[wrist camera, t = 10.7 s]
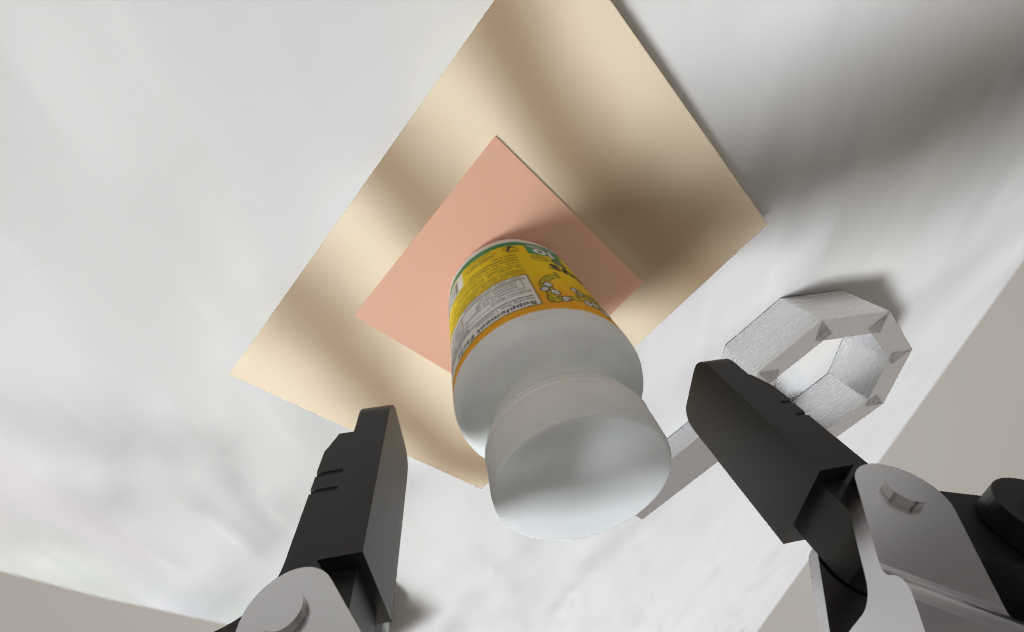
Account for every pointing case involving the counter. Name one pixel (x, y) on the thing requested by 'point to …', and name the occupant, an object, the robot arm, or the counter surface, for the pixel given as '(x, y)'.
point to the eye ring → (788, 337)
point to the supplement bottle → (550, 396)
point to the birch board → (504, 217)
